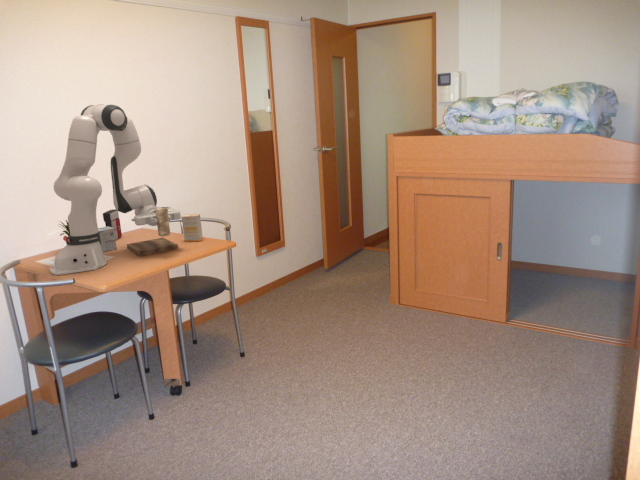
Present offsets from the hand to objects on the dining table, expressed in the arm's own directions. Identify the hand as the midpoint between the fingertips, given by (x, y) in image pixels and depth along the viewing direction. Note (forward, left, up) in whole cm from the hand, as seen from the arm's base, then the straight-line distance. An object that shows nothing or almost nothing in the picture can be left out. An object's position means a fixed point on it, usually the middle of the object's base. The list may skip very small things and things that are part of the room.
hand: (163, 220), depth 239 cm
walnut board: (0, +21, -17) cm, 27 cm away
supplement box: (+21, +21, -17) cm, 34 cm away
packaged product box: (-8, +56, -17) cm, 59 cm away
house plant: (-31, +46, -17) cm, 58 cm away
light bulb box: (-19, +35, -17) cm, 43 cm away
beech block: (0, +1, -7) cm, 7 cm away
